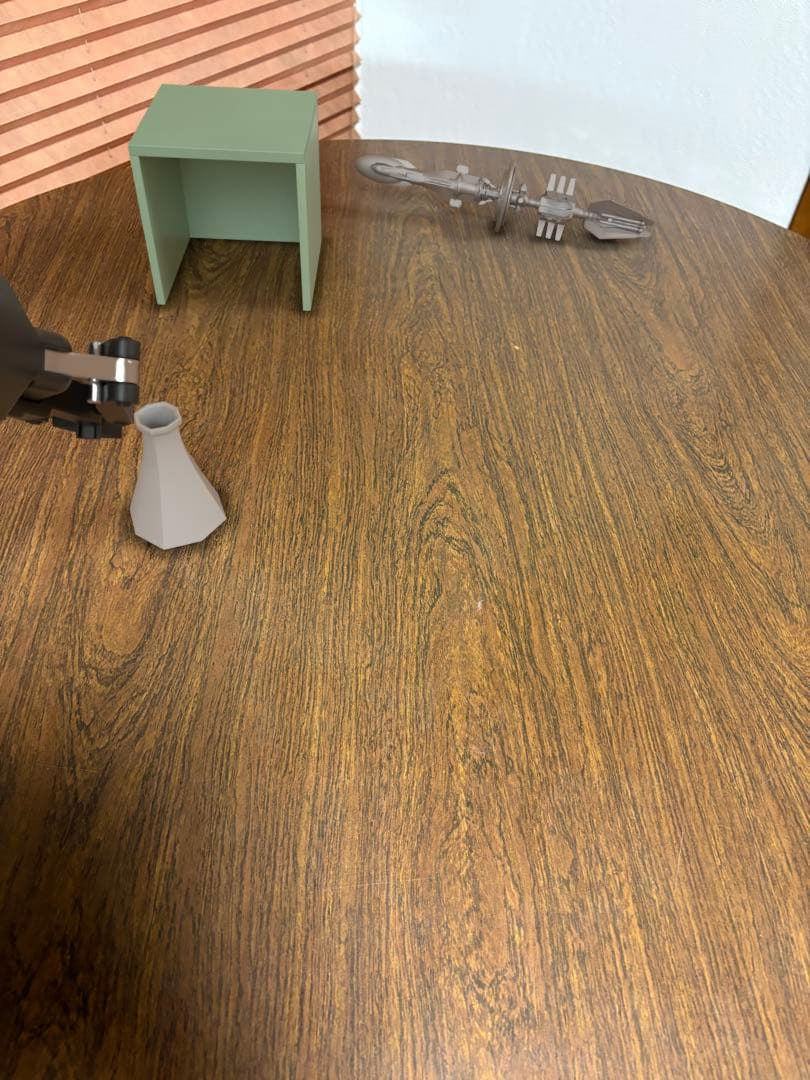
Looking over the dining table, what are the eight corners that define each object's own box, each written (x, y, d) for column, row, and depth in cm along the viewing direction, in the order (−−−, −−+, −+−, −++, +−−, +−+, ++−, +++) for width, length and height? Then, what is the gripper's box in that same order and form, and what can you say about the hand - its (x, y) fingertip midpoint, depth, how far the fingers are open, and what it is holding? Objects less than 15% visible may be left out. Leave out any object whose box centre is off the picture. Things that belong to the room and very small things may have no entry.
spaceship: (365, 126, 101) (355, 124, 94) (656, 191, 101) (668, 194, 93) (354, 197, 104) (343, 201, 97) (635, 260, 104) (646, 268, 97)
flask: (159, 565, 64) (134, 464, 56) (114, 510, 67) (85, 408, 60) (243, 522, 67) (229, 422, 60) (195, 472, 71) (177, 372, 63)
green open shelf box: (310, 311, 88) (304, 153, 76) (157, 304, 87) (127, 144, 76) (321, 240, 98) (317, 91, 86) (184, 234, 98) (161, 83, 86)
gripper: (-364, 440, 26) (-7, 475, 49) (72, 456, 26) (220, 484, 50) (-361, 188, 26) (-4, 344, 49) (78, 208, 26) (224, 354, 50)
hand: (109, 414), depth 49 cm, fingers closed
